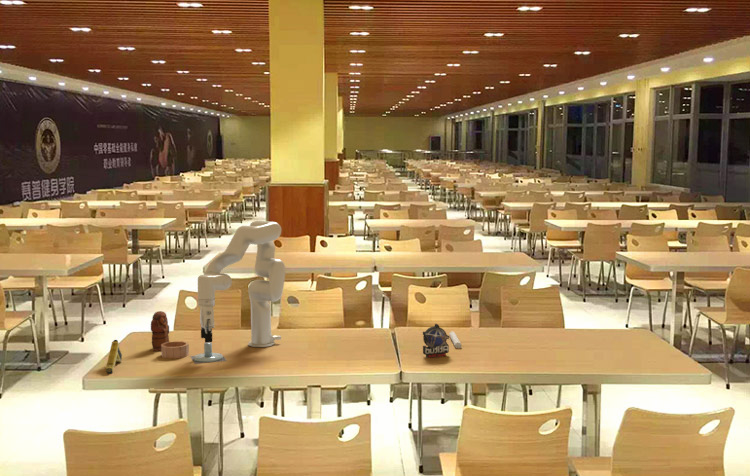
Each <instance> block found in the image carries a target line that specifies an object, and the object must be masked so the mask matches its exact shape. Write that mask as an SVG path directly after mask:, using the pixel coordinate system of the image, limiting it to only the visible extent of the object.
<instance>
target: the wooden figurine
mask: <svg viewBox="0 0 750 476" xmlns="http://www.w3.org/2000/svg"><path fill="white" fill-rule="evenodd" d="M151 319H152V320H151V321H150V331H151V333H152V334H151V344H152V350H153V352H161V344H163V343H166V342H170V337H169V336H170V335H169V334H170V325H169V324H168V323H169V322H168V321H169V320H168V316H167V313H166V312H165V311H162V310H161V311H160V310H159V311H156V312H154V313H153V315H152V318H151Z"/></svg>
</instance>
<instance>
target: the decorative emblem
mask: <svg viewBox="0 0 750 476" xmlns="http://www.w3.org/2000/svg"><path fill="white" fill-rule="evenodd" d="M422 335H423V337H422V338H423V343H424V344H425V345H422V354H423V355H425V357H426V358H428V359H431V358H440V357H441V358H442V357H446V356H447V355H446V354H448V353H449V352H450V349H449V347H450V344H448V342H447V341H448V340H450V336H449V335H448V334H447V332H446V331H445V330H444V329H443V328H441V327H440V326H439V324H437V323H435V324H434V326H431V327H428V328H427V329H426V330H425V331H422Z"/></svg>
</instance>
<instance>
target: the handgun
mask: <svg viewBox="0 0 750 476" xmlns="http://www.w3.org/2000/svg"><path fill="white" fill-rule="evenodd" d="M110 345H111V346H110V350H109V354H108V357H107V363H106V366H105V371H106V373H107V374H113V372H114V368H115V366H116V364H122V360H123V354H122V351H121V349H120V344H119V341H118V340H117V339H114V340H113V341H112V342H111V344H110Z"/></svg>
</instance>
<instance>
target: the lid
mask: <svg viewBox="0 0 750 476" xmlns="http://www.w3.org/2000/svg"><path fill="white" fill-rule="evenodd" d="M203 350H204V351H203V352H204V353H199V354H195V355H193V356H194V361H197V362H210V363H215V362H214V361H219V360H221V359H223V357H224V355H223V354H222V353H221V354H220V353H218V352H213V343H212V342H207V343H206V342H204V343H203ZM194 361H193V362H194Z"/></svg>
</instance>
